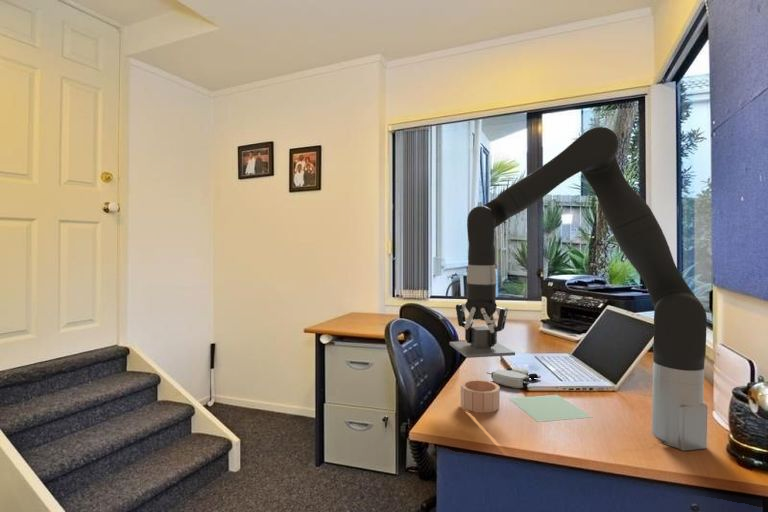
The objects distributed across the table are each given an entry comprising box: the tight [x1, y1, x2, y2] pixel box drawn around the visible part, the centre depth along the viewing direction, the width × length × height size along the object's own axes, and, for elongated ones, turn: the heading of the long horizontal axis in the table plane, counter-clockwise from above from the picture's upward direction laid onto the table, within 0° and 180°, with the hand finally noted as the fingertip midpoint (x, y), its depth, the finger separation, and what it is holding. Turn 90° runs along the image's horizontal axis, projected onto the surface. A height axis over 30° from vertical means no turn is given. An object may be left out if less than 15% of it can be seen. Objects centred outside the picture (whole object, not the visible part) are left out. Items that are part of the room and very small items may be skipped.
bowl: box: [460, 379, 501, 414], centre depth 110 cm, size 10×10×6 cm
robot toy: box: [486, 367, 542, 389], centre depth 128 cm, size 12×4×15 cm
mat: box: [508, 394, 593, 423], centre depth 108 cm, size 15×15×1 cm
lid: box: [449, 326, 516, 359], centre depth 109 cm, size 13×13×6 cm
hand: (480, 344), depth 109 cm, fingers closed on lid, 5 cm apart
